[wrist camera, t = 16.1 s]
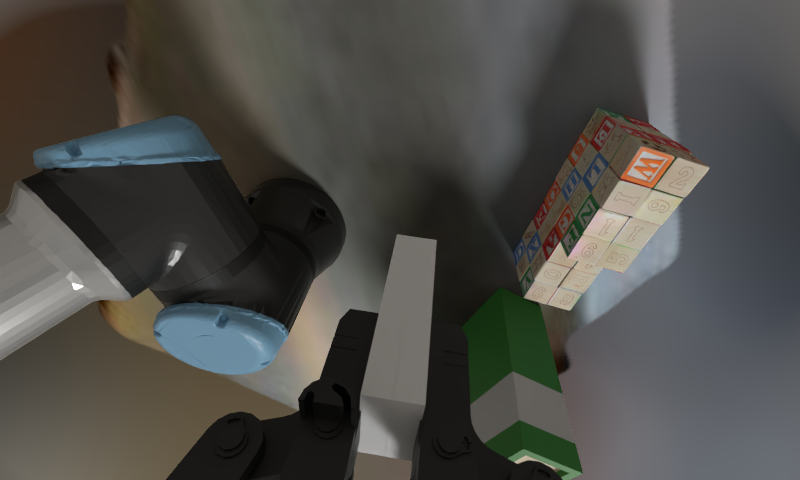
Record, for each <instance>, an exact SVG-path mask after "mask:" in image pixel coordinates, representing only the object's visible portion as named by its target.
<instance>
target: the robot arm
mask: <svg viewBox="0 0 800 480" xmlns="http://www.w3.org/2000/svg"><path fill="white" fill-rule="evenodd" d="M33 158H34V160H35V166H37V167H38V168H39V169H41V168H42V169H43V170H42V171H41V172H39V173H37V174H34V175H32V176H30V177H28V178H25V179H22V180H20V181H18V182H16V183H15V185H14V189H13V192H12V196H11V200H10V204H9V207H8V208H7V209H6V211H5V212H4V213H3V214H0V360H1V359H3V358H4V357H6V356H7V355H9V354H11V353H12V352H14V351H15V350H17V349H18V348H20V347H22V346H23V345H25V344H26V343H28V342H29V341H31V340H33V339H34V338H36V337H37V336H39V335H40V334H42V333H44V332H45V331H46V330H48V329H50V328H52V327H53V326H55V325H56V324H58V323H59V322H61V321H62V320H64V319H66V318H67V317H69V316H70V315H72V314H74V313H75V312H77V311H78V310H80V309H81V308H83V307H85V306H86V305H88V304H89V303H91V302H92V301H97V300H120V301H128V300H130V299H132V298H133V297H135V296H136V295H138V294H139V293H141V292H142V291H144V290H145V289H147V288H149V289H150V290H151V291H152V292H153V294H154V295H155V296H156V297H157V298H158V299H159V301H160V302H161V303H162V304H163V305H164V309H162V310H161V311H160V312H159V313H158V314H157V316H156V320H155V322H154V325H153V327H154V336H155V338H156V340H157V341H158V343H159V344H160V345H161V346H162V347H163V348H164V349H165V350H166V351H167V352H169V353H170V354H172V355H173V356H174V357H176V358H178V359H179V360H181V361H183V362H186V363H187V364H190V365H192V366H195V367H197V368H200V369H204V370H208V371H211V372H215V373H221V374H231V375H239V374H248V373H253V372H256V371H259V370H261V369H263V368H265V367H266V366H268V365H269V364H270V363H271V362H272V361H273V360H274V358H275V357H276V355H277V353H278V351H279V349H280V348H281V346H282V344H283V343H284V342H285V341H286V340H287V338H288V335H289V333H290V330H291V328H292V326H293V324H294V322H295V319H296V317H297V315H298V313H299V311H300V308H301V306H302V304H303V302H304V300H305V297H306V295H307V293H308V291H309V289H310V286H311V284H312V282H313V280H314V279H315V278H316V277H317V276H318V275H320V274H321V273H322V272H323V271H324V270H325V269H326V268H328V267H329V266H330V265H332V264H333V263H334V261H335V260H336V259H337V257H338V256H339V254H340V252H341V250H342V247H343V245H344V242H345V237H346V229H345V223H344V220H343V217H342V215H341V213H340V211H339V209H338V208H337V206H336V205H335V204H334V203H333V201H332V200H331V199H330V198H329V197H328V196H327V195H325V194H324V193H323V192H321V191H320V190H318V189H317V188H315V187H313V186H311V185H309V184H307V183H304V182H301V181H298V180H293V179H274V180H269V181H267V182H264V183H262V184H260V185H259V186H257V187H256V188H255V189H254V190H253V191H252V192H251V193H250V194H249V195H248V196H247V197H246V199H245V200H244V198H243V196H242V195H241V193H240V191H239V190H238V188H237V186H236V185H235V183H234V181H233V179H232V178H231V176H230V174H229V172H228V171H227V169H226V167H225V166H224V164H223V162H222V160H221V159H222V157H221V155H220V154H218V153H216V151H215V150H214V148H213V147H212V146H211V144H210V143H209V141H208V140H207V138H206V137H205V135H204V134H203V132H202V131H201V129H200V128H199V126H198V125H197V124H196V123H195V122H193V121H192V120H190V119H189V118H186V117H183V116H178V115H172V116H167V117H162V118H158V119H154V120H150V121H146V122H142V123H138V124H134V125H130V126H126V127H122V128H119V129H115V130H111V131H106V132H102V133H99V134H95V135H91V136H87V137H83V138H79V139H75V140H72V141H68V142H64V143H60V144H56V145H52V146H48V147H44V148H41V149H38V150H36V151H34V154H33ZM436 244H437V240H433V239H426V238H419V237H412V236H405V235H398V234H397V236H396V241H395V245H394V249H393V254H392V258H391V262H390V267H389V271H388V276H387V280H386V284H385V289H384V293H383V297H382V302H381V306H380V311H379V313H373V312H367V311H360V310H354V309H350V310H349V311H348V312H347V313H346V314H345V315H344V316H343V317H342V318H341V319H340V321H339V324H338V326H337V329H336V332H335V337H334V338H333V341H332V344H331V348H330V350H329V353H328V356H327V359H326V362H325V365H324V368H323V371H322V374H321V377H320V379H319V380H317V381H314V382H312V383H311V384H310V385H309V386H307V387H306V388H305V389H304V390H303V392H302V394H301V395H300V397H299V398H298V402H299V411H298V412H296V413H294V414H292V415H288V416H285V417H279V418H273V419H268V420H261V421H260V420H259V419H258V418H256V417H255V416H254V415H253V414H250V413H245V412H236V413H230V414H228V415H226V416H224V417H222V418H220V419H218V420H217V421H216V422H215V423H213V424H212V425H211V426H210V427H209V428H208V429H207V430H206V432H205V433H204V434H203V435H202V436H201V438H200V439H199V440H198V441H197V443H196V444H195V445H194V446H193V447H192V449H191V450H190V451H189V452H188V454H187V455H186V456H185V457H184V458H183V459H182V461H181V462H180V463H179V464H178V466H177V467H176V468H175V469H174V470H173V472H172V473H171V474H170V475H169V477H168V478H167V479H166V480H353V476H354V465H355V459H356V455H357V452H363V453H370V454H375V455H381V456H386V457H392V458H398V459H404V460H409V461H412V470H411V479H410V480H563V479H562V478H561V477H560V476H559V475H558V474H557V473H556V472H555V471H554V470H553V469H552V468H551V467H549V466H547V465H545V464H543V463H541V462H539V461H532V460H527V461H524V462H521V463H518V464H517V463H515V462H513V461H511V460H509V459H507V458H506V457H504V456H502V455H500V454H498V453H496V452H495V451H493V450H492V449H490V448H489V447H487V446H486V445H485V444H484V443H483V442H482V441H481V440H480V438H479V437H478V435H477V434H476V432H475V430H474V427H473V425H472V420H471V408H470V382H469V357H468V339H467V337H466V335H465V333H464V331H463V329H462V327H461V325H456V324H450V323H443V322H437V321H431V317H432V302H433V288H434V273H435V258H436Z"/></svg>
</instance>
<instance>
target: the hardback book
mask: <svg viewBox="0 0 800 480" xmlns="http://www.w3.org/2000/svg"><path fill="white" fill-rule="evenodd" d="M462 329H463V331H464V333H465V335H466V337H467V339H468V357H469V382H470V408H471V420H472V425H473V427H474V430H475V432H476V434H477V435H478V437H479V438H480V440H481V441H482V442H483V443H484V444H485V445H486V446H487V447H489V448H490V449H492V450H493V451H495V452H496V453H498V454H500V455H502V456H504V457H506V458H507V459H509V460H511V461H513V462H515V463H517V464H518V463H521V462H524V461H527V460H532V461H539V462H541V463H543V464H545V465H547V466H549V467H551V468H552V469H553V470H554V471H555V472H556V473H557V474H558V475H559V476H560V477H561V478H562V479H563V480H570V479H572V478H574V477H576V476H578V475H581V474H583V472H582V468H581V464H580V460H579V456H578V453H577V449H576V445H575V441H574V437H573V433H572V430H571V425H570V421H569V417H568V413H567V409H566V405H565V402H564V398H563V394H562V390H561V386H560V382H559V378H558V374H557V370H556V366H555V362H554V359H553V355H552V351H551V347H550V343H549V339H548V335H547V331H546V327H545V323H544V320H543V316H542V312H541V308H540V306H538V305H536V304H534V303H532V302H530V301H528V300H526V299H524V298H522V297H520V296H518V295H516V294H514V293H512V292H510V291H508V290H506V289H504V288H502V287H500V288H499V289H498V290H497V291H496V292H495V293H494V294H493V295H492V296H491V297H490V298H489V299H488V300H487V301H486V302H485V303H484V304H483V305H482V306H481V307H480V308H479V309H478V311H477V312H476V313H475V314H474V315H473V316H472V317H471V318H470V319H469V320H468V321H467V322H466V323H465V324H464V325H463V326H462Z"/></svg>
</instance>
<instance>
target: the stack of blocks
mask: <svg viewBox="0 0 800 480" xmlns="http://www.w3.org/2000/svg"><path fill="white" fill-rule="evenodd" d="M708 169H709V167H708V166H707V165H706V164H704V163H702V162H701V161H700V160H698V159H697V158H696V157H694V156H692V155H691V152H690V151H689V150H688V149H686V148H685V147H683V146H682V145H680V144H679V143H677V142H675V141H673V140H672V139H670V138H669V137H667V136H666V135H664V134H663V133H661V132H660V131H659V130H657V129H656V128H654V127H653V126H652V125H650V124H649V123H646V122H643V121H639V120H636V119H633V118H630V117H627V116H622V115H619V114H616V113H613V112H610V111H607V110H604V109H601V108H597V109H596V111H595V112H594V114H593V116H592V118H591V119H590V121H589V123H588V124H587V126H586V128H585V129H584V131H583V133H582V134H581V135H580V137H579V138H578V140H577V142H576V144H575V145H574V147H573V149H572V151H571V152H570V154H569V156H568V158H567V159H566V161H565V162H564V164H563V166H562V168H561V169H560V171H559V173H558V175H557V176H556V178H555V182H554V183H553V185H552V187H551V189H550V190H549V192H548V194H547V196H546V197H545V199H544V202H543V203H542V205H541V207H540V208H539V210H538V212H537V214H536V215H535V217H534V219H533V220H532V221H531V223H530V224H529V226H528V228H527V230H526V231H525V233H524V235H523V237H522V239H521V240H520V242H519V244H518V246H517V247H516V249H515V251H514V253H513V255H514V260H515V265H516V270H517V275H518V280H519V282H520V285H521V289H522V294H523V298H526V299H529V300H533V301H536V302H539V303H543V304H548V305H551V306H555V307H558V308H562V309H565V310H571V309H572V307H573V306H574V305H575V303H576V302H577V301H578V299H579V298H580V297H581V295H582V294H583V293H584V292H585V291H586V290H587V288H588V287H589V286H590V284H591V283H592V282H593V280H594V279H595V278H596V276H597V275H598V274H599V273H600V272H601V270H602V269H603V268H607V269H611V270H614V271H617V272H620V273H623V272H624V271H625V270H626V269H627V267H628V266H629V265H630V264H631V262H632V261H633V260H634V259H635V257H636V256H637V255H638V254H639V252H640V250H641V249H642V248H643V247H644V246H645V245H646V243H647V242H648V241H649V240H650V238H651V237H652V236H653V235H654V233H655V232H656V231H657V230H658V228H659V226H661V225H662V224H663V223H664V222H665V221H666V220H667V218H668V217H669V216H670V215H671V214H672V212H673V211H674V210H675V209H676V207H677V206H678V205H679V204H680V202H681V201H682V200H683V198H684V197H686V196H687V195H688V194H689V193H690V192H691V190H692V189H693V188H694V187H695V185H696V184H697V183H698V182H699V181H700V180H701V178H702V177H703V176H704V175H705V174H706V172H707V171H708Z"/></svg>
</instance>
